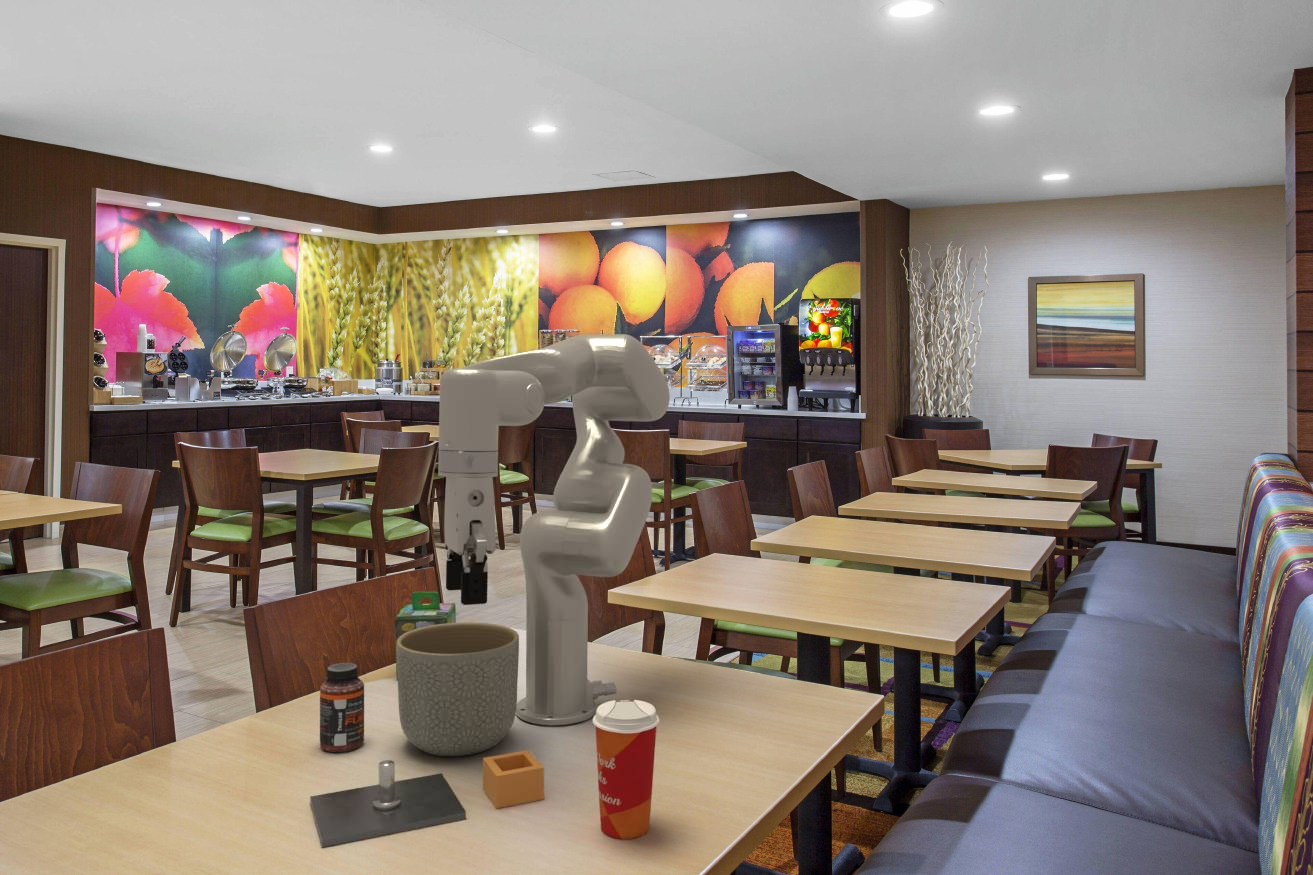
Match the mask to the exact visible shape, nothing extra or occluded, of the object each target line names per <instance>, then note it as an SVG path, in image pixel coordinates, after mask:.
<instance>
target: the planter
mask: <svg viewBox="0 0 1313 875" xmlns="http://www.w3.org/2000/svg"><path fill="white" fill-rule="evenodd" d="M519 646H520V635H519V634H518V631H516V630H515V629H512V628H510V627H507V626H504V625H502V624H494V623H487V622H486V623H485V622H473V621H472V622H467V621H466V622H465V621H464V622H456V623H446V624H437V625H431V626H426V627H421V628H418V629H414V630H411V631H409V632H406V633H404V634H403V635H401V636H400V637H399V638H398V639H397V645H396V644H395V654H396V653H397V676H396V679H397V678H398V681H397V693H398V695H397V696H398V701H397V702H398V713H399V724H400V726H401V729H402V731H403V734H404V735H405V737H406V738H407V740H408V741H409V742H410V743H411V744H412V745H414V746H415V747H416V748H418V749H419V750H421V751H422V752H424V753H427V754H430V755H433V756H439V757H447V758H449V757H453V758H454V757H465V756H471V755H475V754H479V753H483V752H485V751H487V750H490V749H491V748H493V747H494V746H496V745H497V744H498V743H500V741H502V740H503V739H504V738H505V737H506V736H507V734H508V733H509V732H510V730H511V728H512V727H513V725H514V721H515V718H516V715H517V714H516V705H517V703H518V681H519V680H518V678H519V660H520V659H519V658H520V657H519V653H520V647H519Z"/></svg>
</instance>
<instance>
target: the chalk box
mask: <svg viewBox="0 0 1313 875" xmlns="http://www.w3.org/2000/svg"><path fill="white" fill-rule="evenodd" d="M423 598H427V599H430V600H431V603H421V601H420V600H421V599H423ZM411 603H412V604H410V603H409V604H406V605H405V606H404V607H403V608H401V609H400V611H399V613H398V614H397V615H396V617H395V618H394V624H395V625H394V629H395V630H394V631H395V632H394V633H395V638H394V639H395V646H396V645H397V639H398V638H399V637H400V636H401V635H403V634H404V633H406V632H409V631H411V630H414V629H418V628H421V627H426V626H431V625H437V624H446V623H457V613H456V611H457V610H456V603H455V602H445V603H444V602H440V594H439V592H438V591H413V592H412V593H411ZM395 669H396V670H395V671H396V673H395V674H396V681H397V682H398V678H397V653H396V652H395Z"/></svg>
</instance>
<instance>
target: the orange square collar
mask: <svg viewBox="0 0 1313 875" xmlns="http://www.w3.org/2000/svg"><path fill="white" fill-rule="evenodd" d="M544 786H545V767H544V765H542V764H541V762H540V761H539V760H538V758H536V757H535V756H534V754H532V752H531V751H530V750H529V749H527V750H522V751H520V750H519V751H516V752H510V753H504V754H497V755H493V756H492V755H491V756H486V757H482V790H483V791H484V793H485V795H487V797H488V799H489V800H490V801H491V803H492V805H493V807H495V808H496V809H500V808H502V809H503V808H507V807H513V806H517V805H521V804H526V803H531V802H536V801H541V800H545V787H544Z"/></svg>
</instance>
